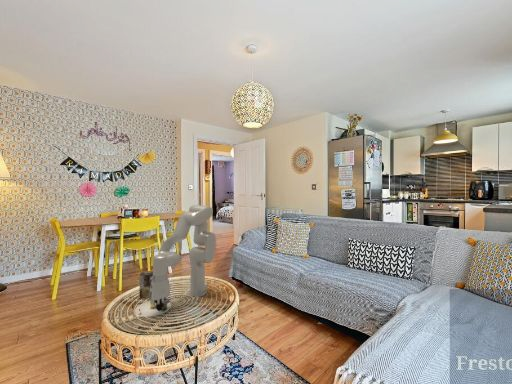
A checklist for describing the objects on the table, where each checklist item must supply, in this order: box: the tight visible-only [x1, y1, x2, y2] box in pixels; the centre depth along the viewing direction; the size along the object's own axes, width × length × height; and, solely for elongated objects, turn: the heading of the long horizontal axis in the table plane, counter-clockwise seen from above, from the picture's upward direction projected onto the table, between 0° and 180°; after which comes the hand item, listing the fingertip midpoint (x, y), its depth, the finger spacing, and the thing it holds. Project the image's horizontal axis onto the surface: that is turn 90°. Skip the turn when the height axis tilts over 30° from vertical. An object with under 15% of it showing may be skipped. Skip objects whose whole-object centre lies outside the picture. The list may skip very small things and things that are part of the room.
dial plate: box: [134, 297, 173, 318], centre depth 144 cm, size 20×20×3 cm
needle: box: [150, 302, 167, 310], centre depth 143 cm, size 12×4×4 cm, turn 69°
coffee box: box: [139, 270, 153, 300], centre depth 160 cm, size 9×6×16 cm
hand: (159, 309), depth 138 cm, fingers closed
